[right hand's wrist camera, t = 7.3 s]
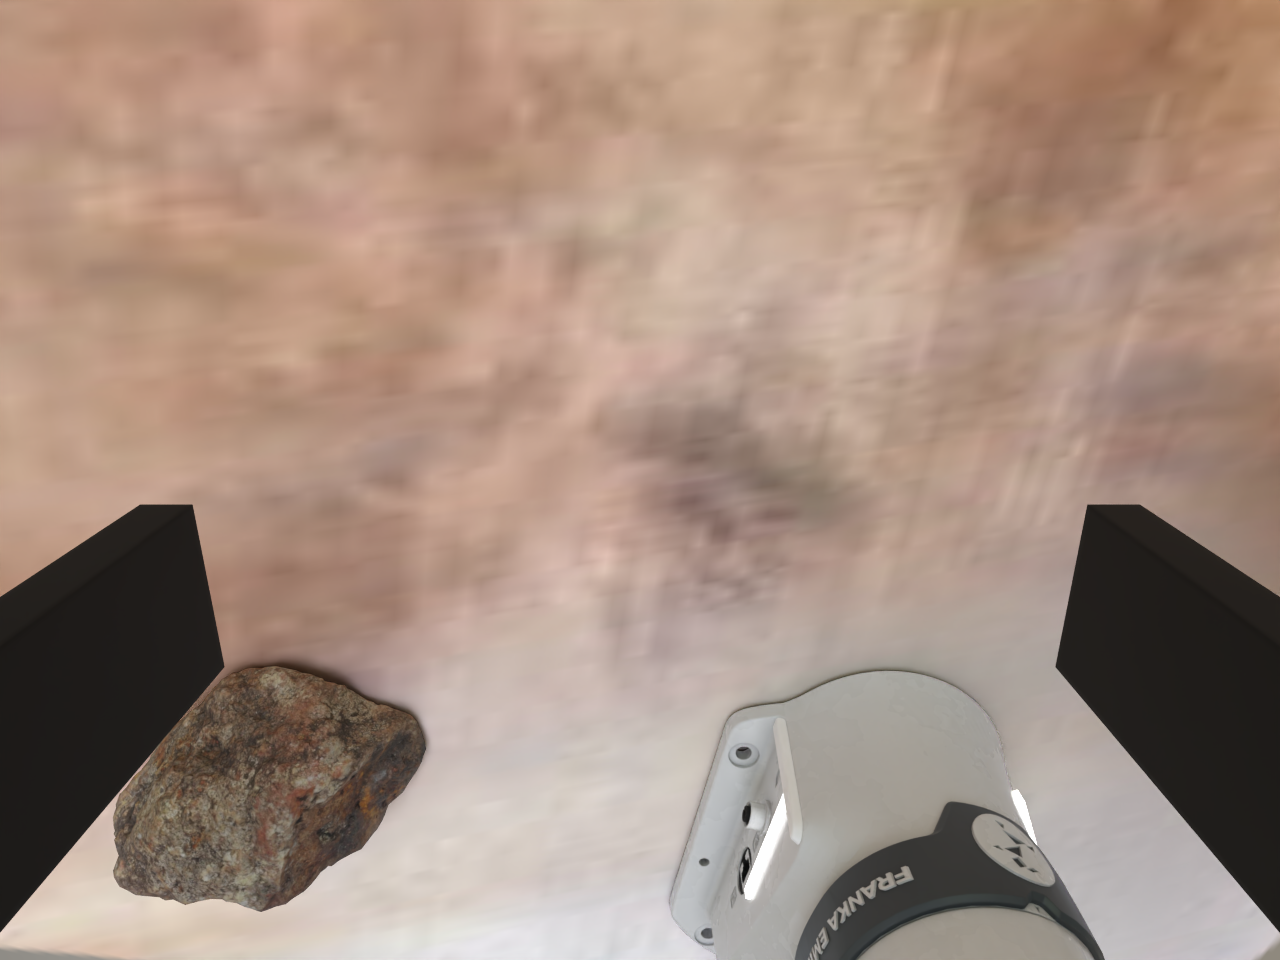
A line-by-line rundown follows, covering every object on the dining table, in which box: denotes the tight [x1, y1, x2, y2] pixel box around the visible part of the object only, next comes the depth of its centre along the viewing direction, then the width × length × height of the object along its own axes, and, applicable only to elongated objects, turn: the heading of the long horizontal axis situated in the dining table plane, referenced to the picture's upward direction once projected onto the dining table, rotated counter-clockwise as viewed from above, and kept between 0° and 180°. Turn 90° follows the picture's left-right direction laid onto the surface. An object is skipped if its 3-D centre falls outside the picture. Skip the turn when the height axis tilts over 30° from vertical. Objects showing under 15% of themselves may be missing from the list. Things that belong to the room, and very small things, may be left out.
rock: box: [113, 666, 426, 912], centre depth 43 cm, size 14×9×10 cm
